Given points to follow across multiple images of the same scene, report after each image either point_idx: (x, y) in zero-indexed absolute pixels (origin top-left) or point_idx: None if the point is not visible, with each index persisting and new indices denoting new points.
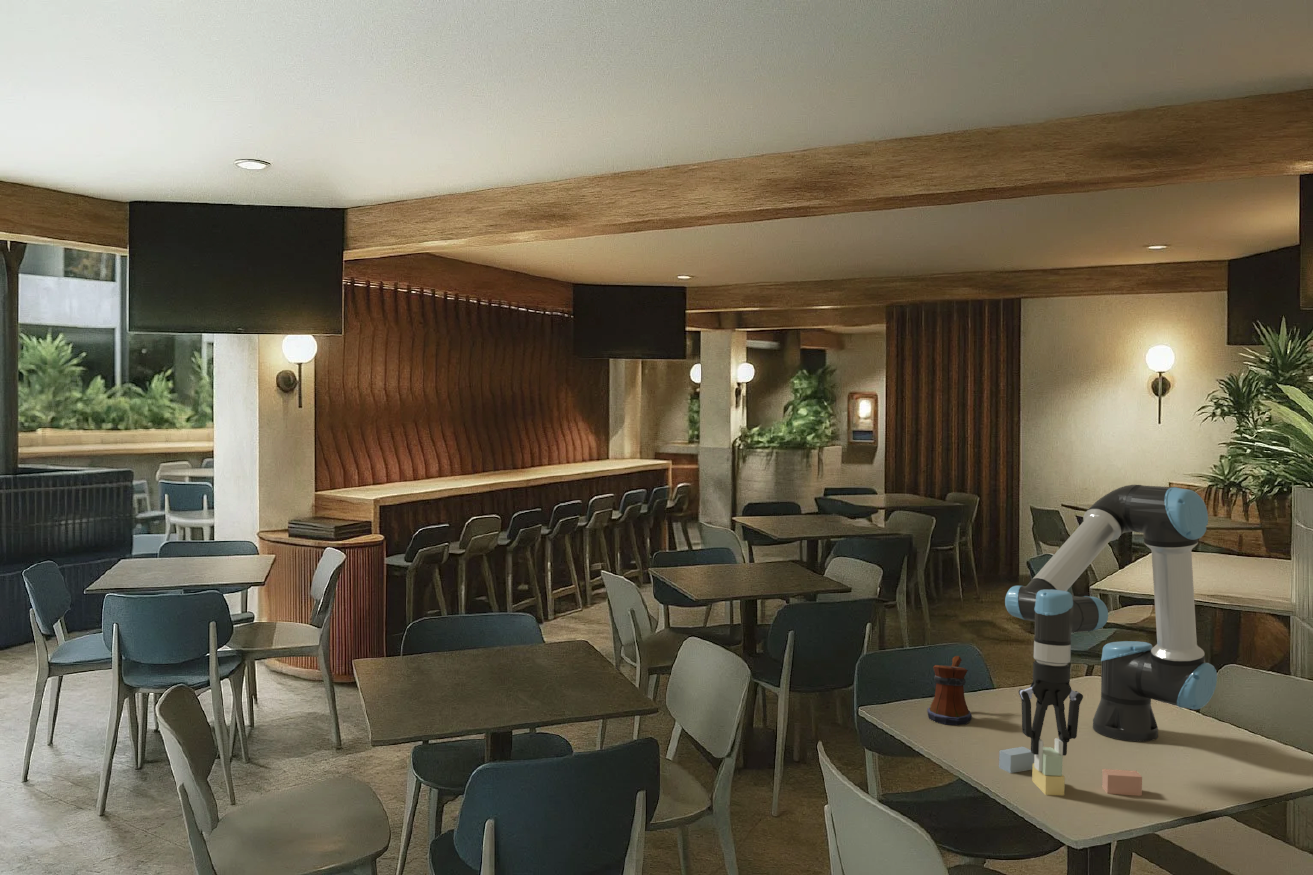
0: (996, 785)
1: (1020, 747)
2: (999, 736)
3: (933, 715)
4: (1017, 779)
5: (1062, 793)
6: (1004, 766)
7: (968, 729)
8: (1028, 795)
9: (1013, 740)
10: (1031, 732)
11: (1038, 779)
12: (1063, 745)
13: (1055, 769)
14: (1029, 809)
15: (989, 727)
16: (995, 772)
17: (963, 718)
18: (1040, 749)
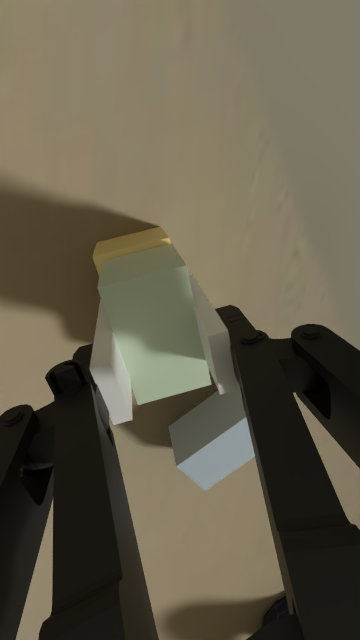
0: (298, 265)
1: (213, 481)
2: (219, 575)
3: None
4: None
5: (102, 241)
6: None
7: (276, 582)
8: (216, 203)
9: (192, 568)
10: (302, 342)
11: None
12: (87, 370)
13: (131, 259)
14: (237, 45)
15: (231, 607)
16: None
17: (287, 614)
18: (210, 311)
